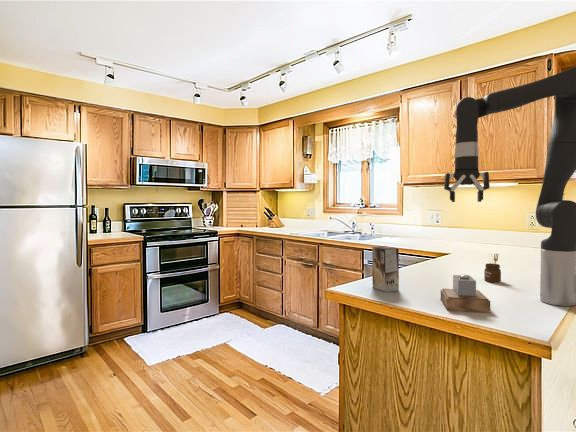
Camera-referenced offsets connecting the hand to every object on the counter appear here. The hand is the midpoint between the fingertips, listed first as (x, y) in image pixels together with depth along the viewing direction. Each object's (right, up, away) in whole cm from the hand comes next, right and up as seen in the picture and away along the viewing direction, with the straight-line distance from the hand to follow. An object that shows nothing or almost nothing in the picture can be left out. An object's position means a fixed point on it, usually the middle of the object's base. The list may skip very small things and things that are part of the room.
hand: (466, 201), depth 126 cm
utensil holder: (+21, -32, +20) cm, 43 cm away
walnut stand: (-7, -34, -13) cm, 37 cm away
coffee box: (-26, -33, +10) cm, 44 cm away
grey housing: (-7, -30, -13) cm, 33 cm away
